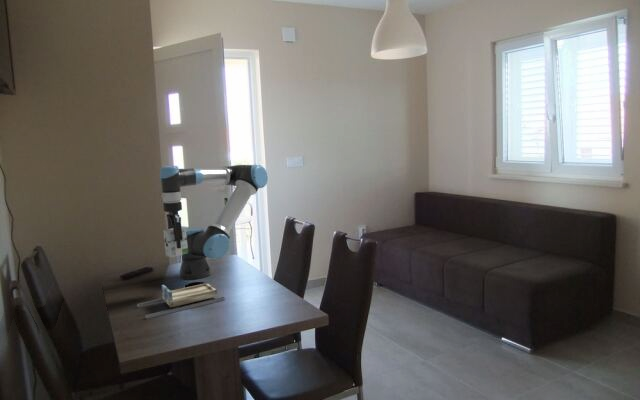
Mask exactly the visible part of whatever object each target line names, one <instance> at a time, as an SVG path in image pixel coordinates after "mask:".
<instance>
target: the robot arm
mask: <svg viewBox="0 0 640 400" xmlns="http://www.w3.org/2000/svg"><path fill="white" fill-rule="evenodd" d="M268 177H269V176H268V173H267V170H266V168H265V167H264V166H263V165H260V164H236V165H230V166H220V168H197V167H195V168H193V167H192V168H179V166H178V165H165V166H162V167H160V172H159V177H158V178H159V181H160V183H161V192H162V195H161V198H162V201H163V211H164V212H166V213H167V214H166V220H167V229H171V228H173V230H174V236H175V240H173V241H174V242H175V253H176V256H175V257H178V256H181V264H180V266H179V271H178V272H179V273H178V274H179V278H180V279H183V280H198V279H202V278H203V279H204V278H206V277H208V276H211V274H212V270H211V266H210V264H209V262H208V259H211V260H214V259H215V260H217V259H221V258H223V257H225V256H226V255H227V253H228V252H229V250H230V244H231V241H230V238H231V236H230V232H231V230H232V229H233V228H234V225H235V224H236V222H237V221H238V219H239V217H240V215H241V214H242V211H243V210H244V208H245V207H246V205H247V203H248V201H249V199H251V196H253V195H256V194H257V192H258V190H259V189H262V188H265V187H266V185H267V183H268ZM204 184H205V185H210V184H212V185H213V184H220V185H222V186H230V187H231V186H234V187H235V188H234V190H233V191H232V193H231V195H230V196H229V198H228V199H227V201H226V203H225V205H224V206H223V208H222V210H221V211H220V213H219V214H218V216H217V218H216V219H215V221H214V223H213V224H210V225H208V226H207V228H206V229H205V228H203V227H195V228H190V229H186V236H187V246H188V253H187V254H183V255H182V244H181V240H182V239H183V238H182V228H181V227H182V217H181V216H180V214H179V212H180V211H182V210H183V206H182V202H181V201H182V193H181V192H182V191H181V188H182V187H189V186H196V185H204Z"/></svg>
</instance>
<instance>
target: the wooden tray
mask: <svg viewBox="0 0 640 400" xmlns="http://www.w3.org/2000/svg"><path fill="white" fill-rule="evenodd" d="M161 294H162V295H161V296H162V298H163V300H164V301H165V303H166V304H167V305H168V306H169V308H172V309H173V308H178V307H180V306H184V305H189V304H193V303H197V302H201V301H206V300H211V299H215V298H218V290H217V289H216V288H214V287H213V286H212V285H210V284H209V283H208V282H205V283H200V284H196V285H192V286H187V287H183V288H182V287H181V288H177V289H174V290H173V289H172V290H170V289H169V288H168V287H167V286H166V285H165V284H162V285H161Z"/></svg>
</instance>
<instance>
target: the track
mask: <svg viewBox="0 0 640 400" xmlns="http://www.w3.org/2000/svg"><path fill="white" fill-rule="evenodd" d="M221 301H225V296H220V297H215V298H214V299H211V300H210V299H206V300H202V301H198V302H194V303H189V304H185V305H181V306H178V307H177V308H173V307H172V308H170V309H165V310H161V311H157V312H154V313H149V314H145V319H152V318H155V317H160V316H163V315H168V314H169V315H170V314H173V313H176V312H182V311H185V310H189V309H193V308H198V307H202V306H206V305H211V304H215V303H219V302H221ZM164 302H165V301H164V300H163V297H162V298H159V299H154V300H150V301H145V302H140V303H136V304H137V306H136V307H137V308H142V307H146V306H147V307H148V306H150V305H155V304H159V303H164ZM165 303H166V302H165Z"/></svg>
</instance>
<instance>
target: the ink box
mask: <svg viewBox="0 0 640 400" xmlns="http://www.w3.org/2000/svg"><path fill="white" fill-rule="evenodd" d="M181 228H182V238H183V239H182V240H181V244H182V255H183V254H187V253H188V246H187V236H186V230H187V227H185V226H181ZM163 240H164V249H165V256H166V257H168V258H174V257H177V256H176V253H175V242H174V241H173V240H175V236H174V230H173V228H171V229H168V228H166V229H163Z"/></svg>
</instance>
